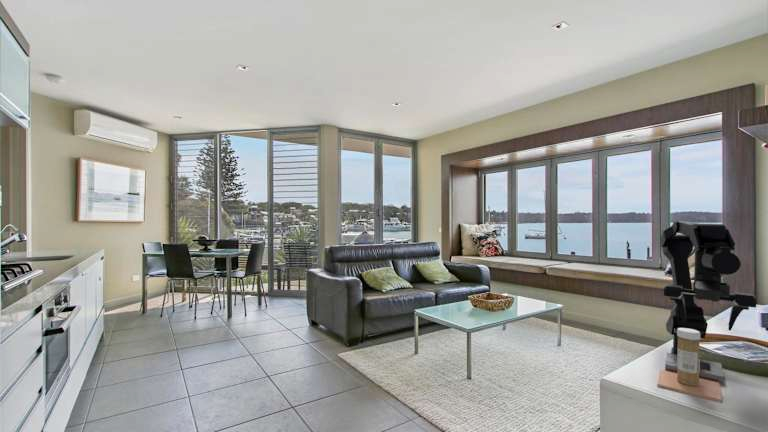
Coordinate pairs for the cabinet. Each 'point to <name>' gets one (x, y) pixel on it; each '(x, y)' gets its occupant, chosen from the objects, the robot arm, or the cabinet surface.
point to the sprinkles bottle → (688, 356)
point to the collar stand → (713, 367)
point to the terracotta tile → (703, 390)
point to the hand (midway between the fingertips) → (706, 326)
